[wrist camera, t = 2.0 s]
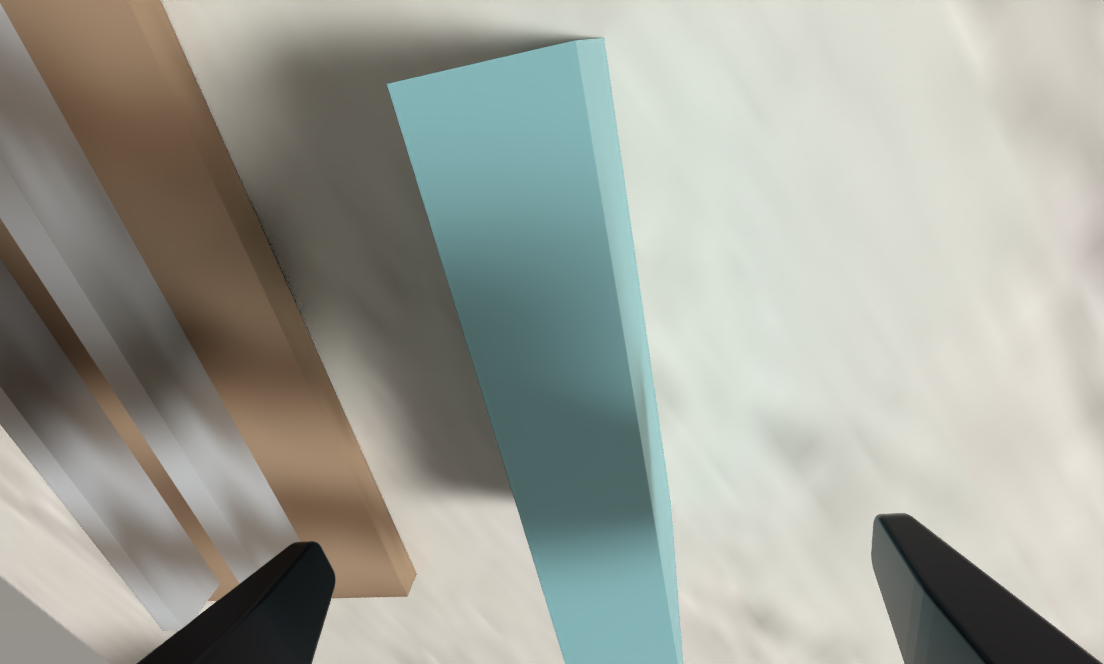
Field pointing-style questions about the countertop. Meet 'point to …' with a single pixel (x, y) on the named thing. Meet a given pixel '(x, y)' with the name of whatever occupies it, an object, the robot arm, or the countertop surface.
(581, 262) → the door panel
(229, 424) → the track
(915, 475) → the countertop surface
